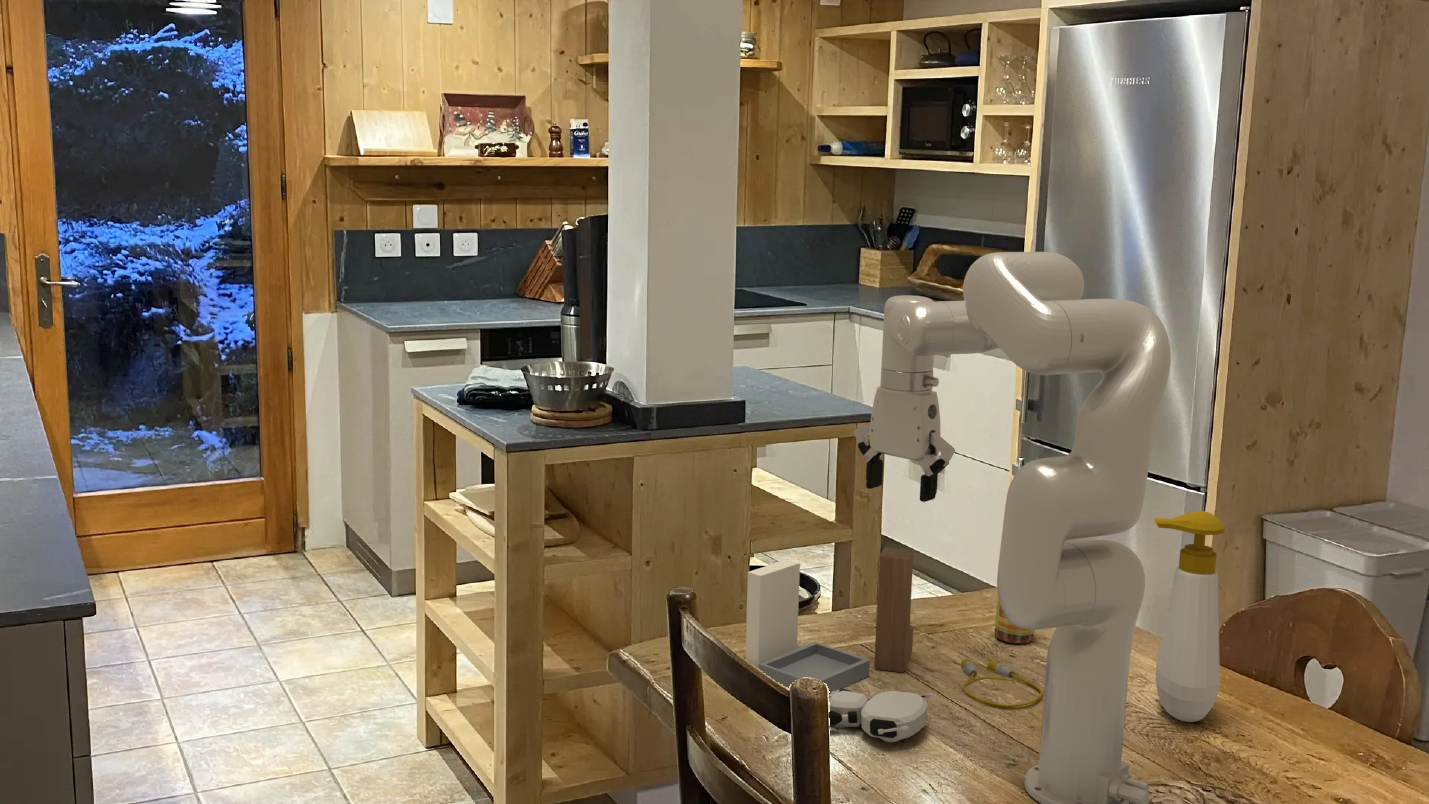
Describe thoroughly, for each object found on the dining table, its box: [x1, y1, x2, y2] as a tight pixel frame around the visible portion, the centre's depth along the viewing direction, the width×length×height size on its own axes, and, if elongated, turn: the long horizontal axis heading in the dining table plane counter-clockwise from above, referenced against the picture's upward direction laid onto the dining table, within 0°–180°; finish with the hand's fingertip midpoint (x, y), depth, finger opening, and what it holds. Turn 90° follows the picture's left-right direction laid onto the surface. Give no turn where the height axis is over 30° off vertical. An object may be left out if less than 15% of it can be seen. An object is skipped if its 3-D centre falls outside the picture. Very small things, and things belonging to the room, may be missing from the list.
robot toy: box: [828, 688, 934, 744], centre depth 180 cm, size 12×4×15 cm
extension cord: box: [960, 658, 1044, 710], centre depth 195 cm, size 12×16×2 cm
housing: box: [745, 559, 871, 694], centre depth 198 cm, size 16×13×15 cm
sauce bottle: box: [994, 598, 1035, 645], centre depth 213 cm, size 6×6×20 cm
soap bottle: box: [1153, 510, 1226, 723], centre depth 185 cm, size 13×10×29 cm
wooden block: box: [873, 546, 914, 673], centre depth 203 cm, size 9×4×18 cm, turn 163°
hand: (900, 493), depth 200 cm, fingers open, 9 cm apart
